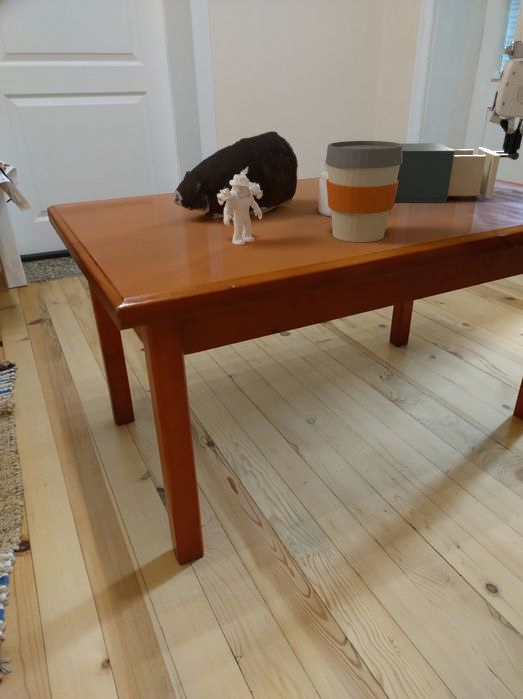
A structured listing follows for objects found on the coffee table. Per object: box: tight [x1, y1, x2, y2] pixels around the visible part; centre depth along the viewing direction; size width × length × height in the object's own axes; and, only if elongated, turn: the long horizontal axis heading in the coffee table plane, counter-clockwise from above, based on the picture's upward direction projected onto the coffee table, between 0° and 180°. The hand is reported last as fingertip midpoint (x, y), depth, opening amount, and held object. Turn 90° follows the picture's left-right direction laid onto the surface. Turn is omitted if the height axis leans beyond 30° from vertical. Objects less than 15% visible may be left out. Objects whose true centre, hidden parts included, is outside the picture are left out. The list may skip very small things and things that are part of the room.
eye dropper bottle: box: [317, 158, 331, 217], centre depth 102 cm, size 4×6×12 cm
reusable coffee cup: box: [324, 140, 403, 243], centre depth 87 cm, size 13×13×15 cm
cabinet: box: [394, 142, 454, 204], centre depth 116 cm, size 16×14×11 cm
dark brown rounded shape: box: [172, 130, 299, 220], centre depth 104 cm, size 15×15×25 cm
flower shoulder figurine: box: [217, 167, 263, 246], centre depth 85 cm, size 9×4×12 cm, turn 135°
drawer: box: [448, 147, 520, 199], centre depth 115 cm, size 20×13×9 cm, turn 84°
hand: (509, 153), depth 107 cm, fingers closed
